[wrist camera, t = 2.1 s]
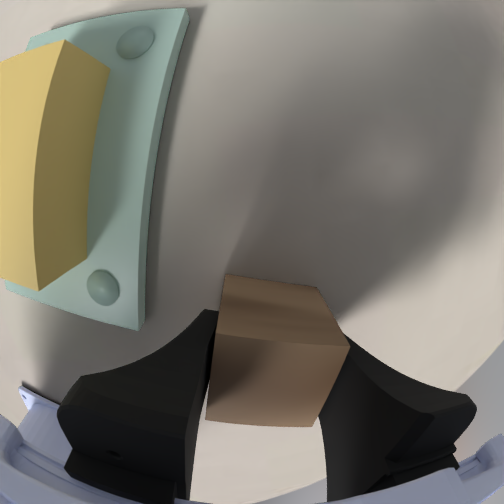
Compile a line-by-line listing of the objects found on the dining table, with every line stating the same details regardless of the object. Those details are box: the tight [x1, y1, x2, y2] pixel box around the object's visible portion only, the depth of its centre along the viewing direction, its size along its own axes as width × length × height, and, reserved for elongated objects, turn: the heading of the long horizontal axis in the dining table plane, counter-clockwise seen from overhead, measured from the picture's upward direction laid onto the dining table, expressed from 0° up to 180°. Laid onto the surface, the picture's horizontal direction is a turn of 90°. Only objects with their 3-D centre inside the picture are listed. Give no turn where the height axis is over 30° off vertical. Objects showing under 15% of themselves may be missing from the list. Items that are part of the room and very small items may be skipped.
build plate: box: [5, 8, 190, 331], centre depth 9 cm, size 14×9×1 cm, turn 170°
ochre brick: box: [0, 39, 111, 292], centre depth 7 cm, size 8×4×4 cm, turn 170°
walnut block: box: [205, 274, 350, 427], centre depth 10 cm, size 4×4×4 cm
